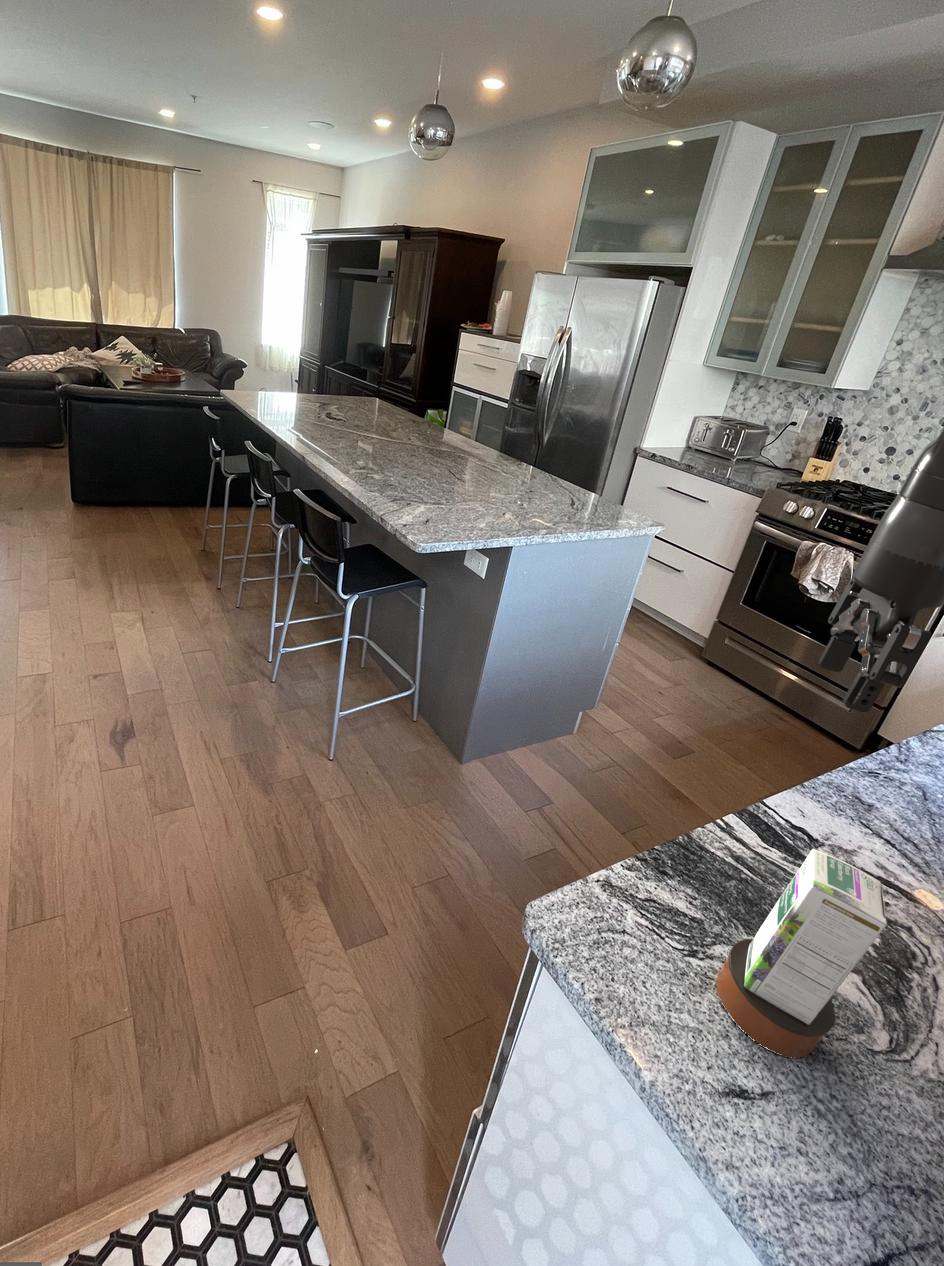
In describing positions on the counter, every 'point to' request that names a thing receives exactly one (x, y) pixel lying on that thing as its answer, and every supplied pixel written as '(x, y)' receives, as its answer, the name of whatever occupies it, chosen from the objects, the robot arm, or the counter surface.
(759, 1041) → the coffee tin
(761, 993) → the syrup box
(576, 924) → the counter surface
